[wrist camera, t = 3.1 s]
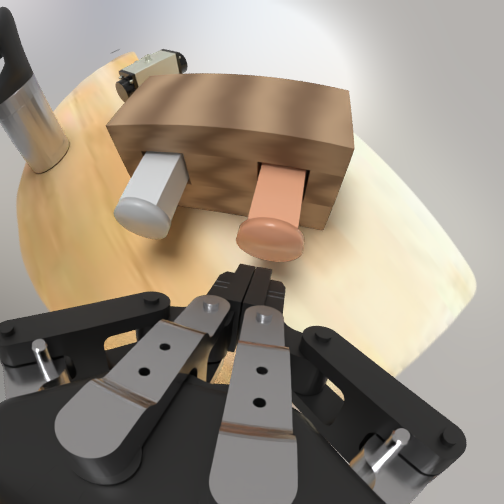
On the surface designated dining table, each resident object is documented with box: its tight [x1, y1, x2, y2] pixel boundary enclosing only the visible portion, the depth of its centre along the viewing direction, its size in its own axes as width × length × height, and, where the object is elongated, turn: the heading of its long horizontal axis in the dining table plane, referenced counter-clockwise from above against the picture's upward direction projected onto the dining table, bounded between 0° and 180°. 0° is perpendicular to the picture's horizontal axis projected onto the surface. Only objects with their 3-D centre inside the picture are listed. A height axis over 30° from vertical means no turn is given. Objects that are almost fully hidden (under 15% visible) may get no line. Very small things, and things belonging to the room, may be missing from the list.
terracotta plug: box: [236, 162, 306, 262], centre depth 25 cm, size 6×11×6 cm, turn 168°
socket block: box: [106, 73, 354, 230], centre depth 29 cm, size 23×10×13 cm, turn 78°
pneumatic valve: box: [116, 49, 187, 102], centre depth 38 cm, size 6×12×12 cm, turn 138°
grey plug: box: [114, 151, 189, 239], centre depth 26 cm, size 6×11×6 cm, turn 168°
